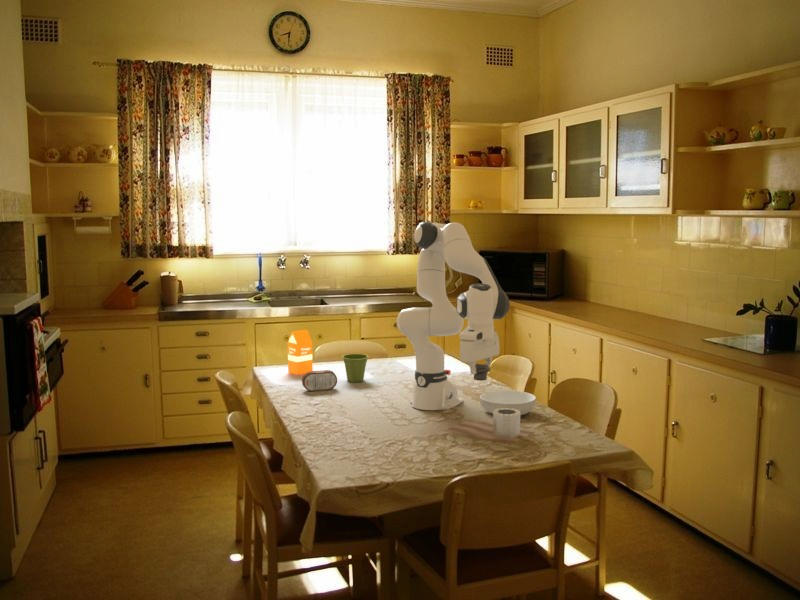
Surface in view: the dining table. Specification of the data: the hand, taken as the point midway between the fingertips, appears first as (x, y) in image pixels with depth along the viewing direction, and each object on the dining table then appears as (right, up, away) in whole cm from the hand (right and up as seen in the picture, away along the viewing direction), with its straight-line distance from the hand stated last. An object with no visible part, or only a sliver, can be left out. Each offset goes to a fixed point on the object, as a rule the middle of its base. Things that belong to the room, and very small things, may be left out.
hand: (480, 372), depth 256 cm
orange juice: (-75, -10, +101) cm, 126 cm away
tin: (-62, -14, +66) cm, 91 cm away
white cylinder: (+8, -21, -4) cm, 23 cm away
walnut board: (+3, -22, +1) cm, 22 cm away
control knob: (0, -2, 0) cm, 2 cm away
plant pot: (-47, -12, +82) cm, 96 cm away
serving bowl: (+13, -19, +27) cm, 35 cm away
